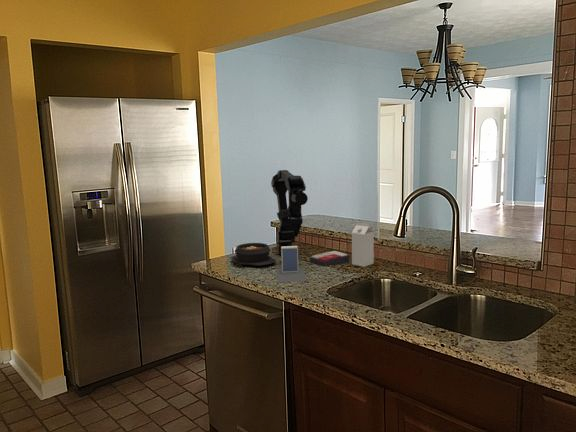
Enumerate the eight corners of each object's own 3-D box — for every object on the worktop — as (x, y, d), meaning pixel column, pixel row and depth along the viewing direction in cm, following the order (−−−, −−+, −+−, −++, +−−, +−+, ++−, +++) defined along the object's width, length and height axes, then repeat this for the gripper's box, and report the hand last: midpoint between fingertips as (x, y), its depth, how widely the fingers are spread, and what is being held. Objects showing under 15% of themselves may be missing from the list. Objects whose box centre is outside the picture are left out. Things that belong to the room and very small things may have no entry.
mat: (275, 269, 214) (275, 269, 214) (302, 268, 214) (302, 267, 214) (277, 282, 194) (277, 281, 194) (307, 281, 195) (307, 280, 195)
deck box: (281, 271, 210) (281, 246, 208) (297, 270, 211) (297, 245, 209) (282, 272, 208) (281, 247, 206) (298, 271, 208) (297, 247, 206)
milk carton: (361, 261, 225) (361, 221, 222) (373, 264, 219) (373, 223, 217) (351, 264, 220) (351, 223, 217) (364, 267, 215) (364, 225, 212)
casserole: (285, 263, 224) (284, 246, 223) (254, 272, 212) (253, 253, 210) (251, 255, 242) (251, 239, 241) (221, 262, 230) (220, 245, 228)
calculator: (309, 255, 225) (334, 249, 233) (310, 264, 226) (334, 258, 234) (323, 260, 216) (349, 253, 224) (324, 269, 217) (349, 262, 225)
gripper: (278, 201, 230) (279, 234, 232) (276, 205, 211) (278, 240, 213) (301, 201, 230) (302, 233, 232) (302, 205, 211) (303, 240, 213)
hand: (296, 236), depth 223 cm, fingers closed
